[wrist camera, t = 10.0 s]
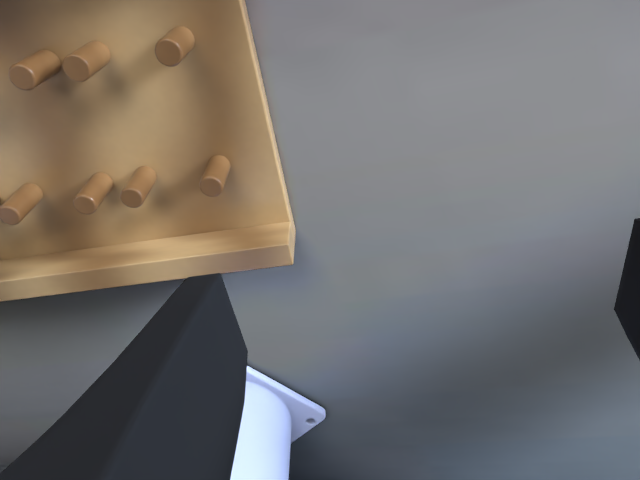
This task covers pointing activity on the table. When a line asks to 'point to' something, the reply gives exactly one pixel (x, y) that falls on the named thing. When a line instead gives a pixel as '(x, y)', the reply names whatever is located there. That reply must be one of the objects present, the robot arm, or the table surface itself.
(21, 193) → the rack
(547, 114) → the table surface
